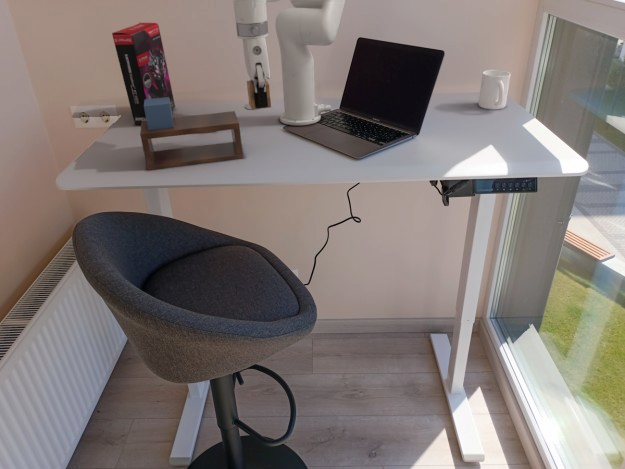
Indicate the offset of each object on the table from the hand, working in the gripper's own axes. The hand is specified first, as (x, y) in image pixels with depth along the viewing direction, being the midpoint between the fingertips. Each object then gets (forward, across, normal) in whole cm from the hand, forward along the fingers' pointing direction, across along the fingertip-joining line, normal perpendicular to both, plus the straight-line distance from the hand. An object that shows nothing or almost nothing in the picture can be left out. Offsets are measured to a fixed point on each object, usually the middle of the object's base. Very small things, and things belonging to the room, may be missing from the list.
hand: (259, 103), depth 131 cm
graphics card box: (+13, +37, +30) cm, 49 cm away
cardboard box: (+1, 0, 0) cm, 1 cm away
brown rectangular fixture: (+12, -1, +18) cm, 22 cm away
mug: (+14, +9, -75) cm, 76 cm away
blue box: (+2, 0, +25) cm, 26 cm away
